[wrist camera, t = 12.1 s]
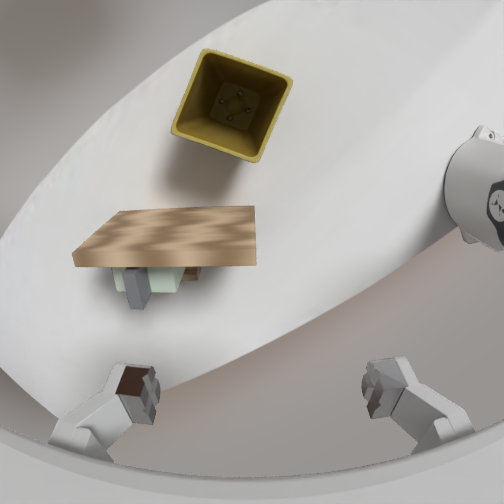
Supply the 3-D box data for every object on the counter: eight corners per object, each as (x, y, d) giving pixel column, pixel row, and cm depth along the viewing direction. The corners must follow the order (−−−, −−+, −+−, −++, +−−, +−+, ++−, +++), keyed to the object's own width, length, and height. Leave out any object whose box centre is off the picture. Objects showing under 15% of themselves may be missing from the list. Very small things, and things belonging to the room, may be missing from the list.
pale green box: (182, 235, 35) (163, 274, 27) (186, 266, 37) (170, 310, 29) (128, 237, 35) (97, 273, 27) (134, 266, 37) (106, 308, 29)
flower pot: (256, 153, 35) (257, 165, 27) (187, 129, 34) (168, 133, 26) (284, 87, 32) (295, 79, 24) (214, 62, 30) (203, 46, 22)
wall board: (254, 205, 38) (256, 249, 26) (255, 259, 41) (257, 320, 29) (119, 211, 38) (71, 253, 26) (128, 261, 41) (90, 315, 29)
